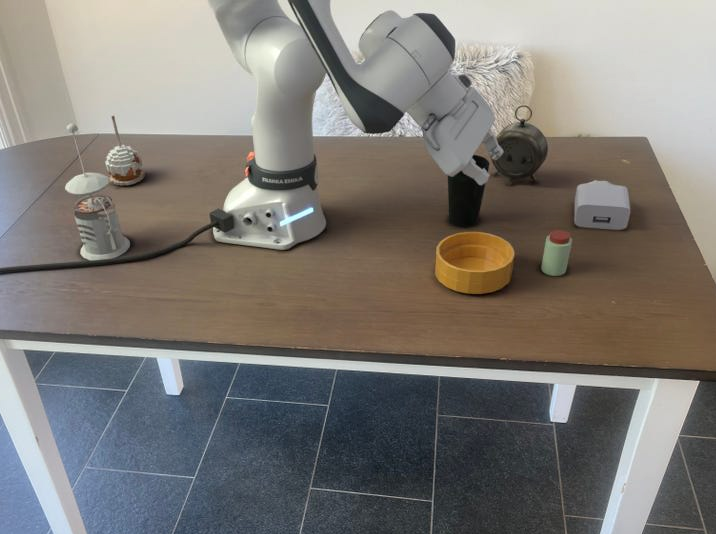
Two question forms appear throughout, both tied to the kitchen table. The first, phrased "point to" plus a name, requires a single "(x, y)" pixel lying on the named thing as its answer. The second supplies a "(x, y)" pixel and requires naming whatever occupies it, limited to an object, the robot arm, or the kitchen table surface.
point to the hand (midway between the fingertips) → (492, 168)
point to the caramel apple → (123, 163)
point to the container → (556, 253)
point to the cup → (465, 196)
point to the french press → (95, 215)
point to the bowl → (474, 262)
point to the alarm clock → (520, 150)
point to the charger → (602, 206)
